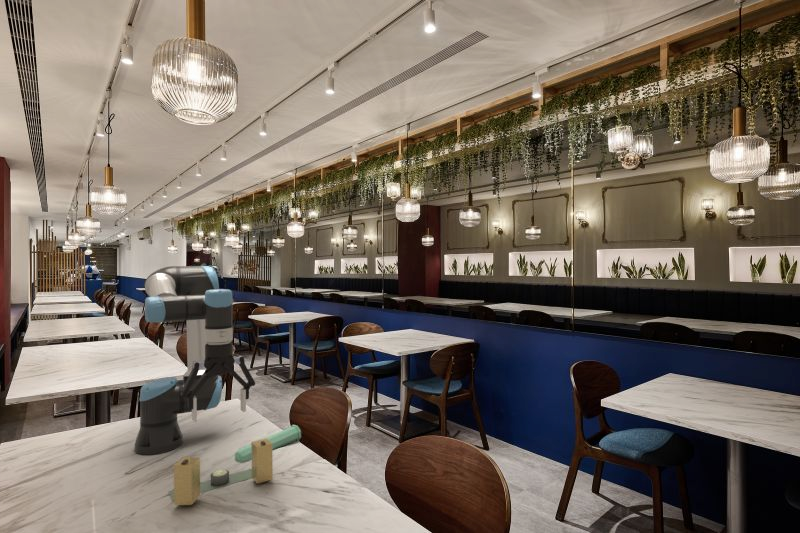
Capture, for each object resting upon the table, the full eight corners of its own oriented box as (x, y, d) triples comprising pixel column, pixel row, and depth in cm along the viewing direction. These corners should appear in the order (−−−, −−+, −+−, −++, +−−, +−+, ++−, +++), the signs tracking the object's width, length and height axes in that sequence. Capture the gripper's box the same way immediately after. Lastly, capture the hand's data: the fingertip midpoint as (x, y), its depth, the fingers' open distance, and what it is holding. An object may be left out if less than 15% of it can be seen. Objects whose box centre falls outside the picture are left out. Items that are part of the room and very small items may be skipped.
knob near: (183, 499, 119) (183, 455, 119) (200, 499, 119) (199, 455, 119) (174, 508, 115) (173, 463, 115) (191, 508, 114) (191, 463, 114)
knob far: (251, 480, 129) (251, 440, 129) (267, 476, 132) (266, 436, 132) (256, 487, 125) (256, 445, 125) (272, 482, 128) (272, 441, 128)
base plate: (168, 495, 123) (168, 480, 123) (260, 469, 139) (260, 455, 138) (175, 514, 114) (175, 497, 114) (274, 484, 129) (273, 469, 129)
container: (239, 447, 141) (298, 423, 162) (229, 450, 144) (288, 426, 165) (244, 466, 140) (303, 439, 161) (234, 469, 143) (293, 441, 164)
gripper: (173, 349, 118) (174, 428, 118) (265, 339, 133) (266, 410, 133) (169, 345, 124) (169, 420, 124) (257, 336, 139) (257, 403, 139)
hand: (219, 415), depth 128 cm, fingers open, 13 cm apart
